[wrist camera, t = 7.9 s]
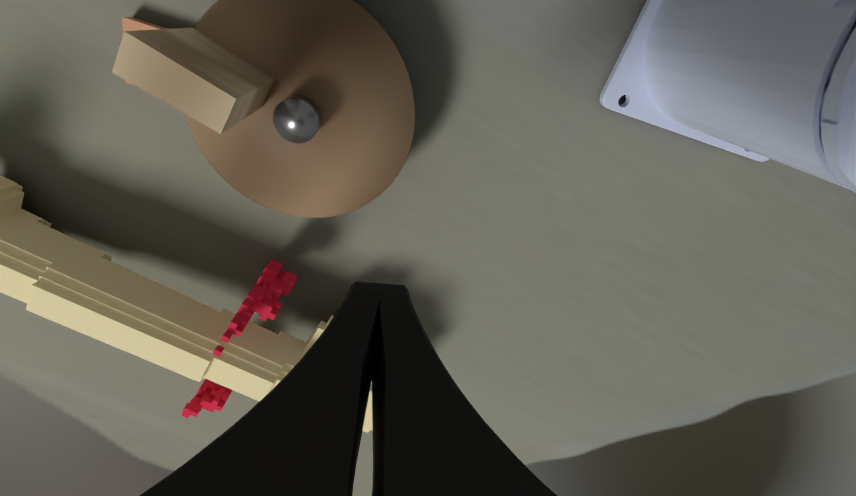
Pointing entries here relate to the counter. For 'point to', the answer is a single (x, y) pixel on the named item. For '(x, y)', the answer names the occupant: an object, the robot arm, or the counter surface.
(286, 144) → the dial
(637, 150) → the counter surface
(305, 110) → the pivot pin
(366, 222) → the counter surface
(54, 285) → the toy vehicle
